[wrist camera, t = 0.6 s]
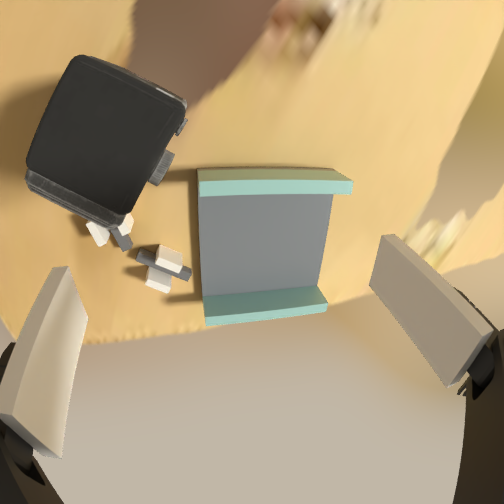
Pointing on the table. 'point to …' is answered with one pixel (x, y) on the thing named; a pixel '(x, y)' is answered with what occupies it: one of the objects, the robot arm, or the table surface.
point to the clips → (163, 255)
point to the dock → (263, 240)
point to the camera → (102, 140)
